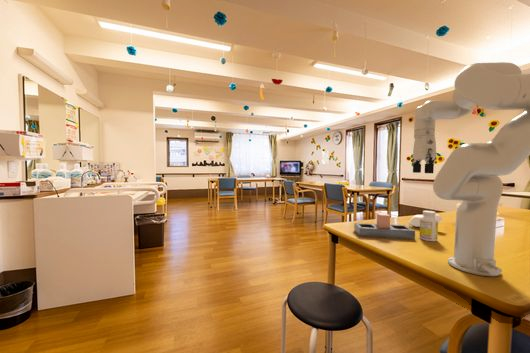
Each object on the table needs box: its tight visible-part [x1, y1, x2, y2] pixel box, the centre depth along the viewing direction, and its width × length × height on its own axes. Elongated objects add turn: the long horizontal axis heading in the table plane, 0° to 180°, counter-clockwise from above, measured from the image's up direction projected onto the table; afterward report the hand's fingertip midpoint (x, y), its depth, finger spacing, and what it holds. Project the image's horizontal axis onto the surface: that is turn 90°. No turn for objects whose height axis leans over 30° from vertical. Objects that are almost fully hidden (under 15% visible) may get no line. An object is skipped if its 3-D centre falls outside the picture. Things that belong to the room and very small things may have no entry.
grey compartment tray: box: [353, 222, 416, 240], centre depth 108 cm, size 10×24×4 cm, turn 82°
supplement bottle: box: [419, 210, 439, 242], centre depth 102 cm, size 7×7×13 cm
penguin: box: [407, 213, 443, 228], centre depth 120 cm, size 9×8×15 cm
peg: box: [376, 212, 391, 228], centre depth 108 cm, size 4×4×10 cm
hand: (422, 172), depth 100 cm, fingers open, 9 cm apart
